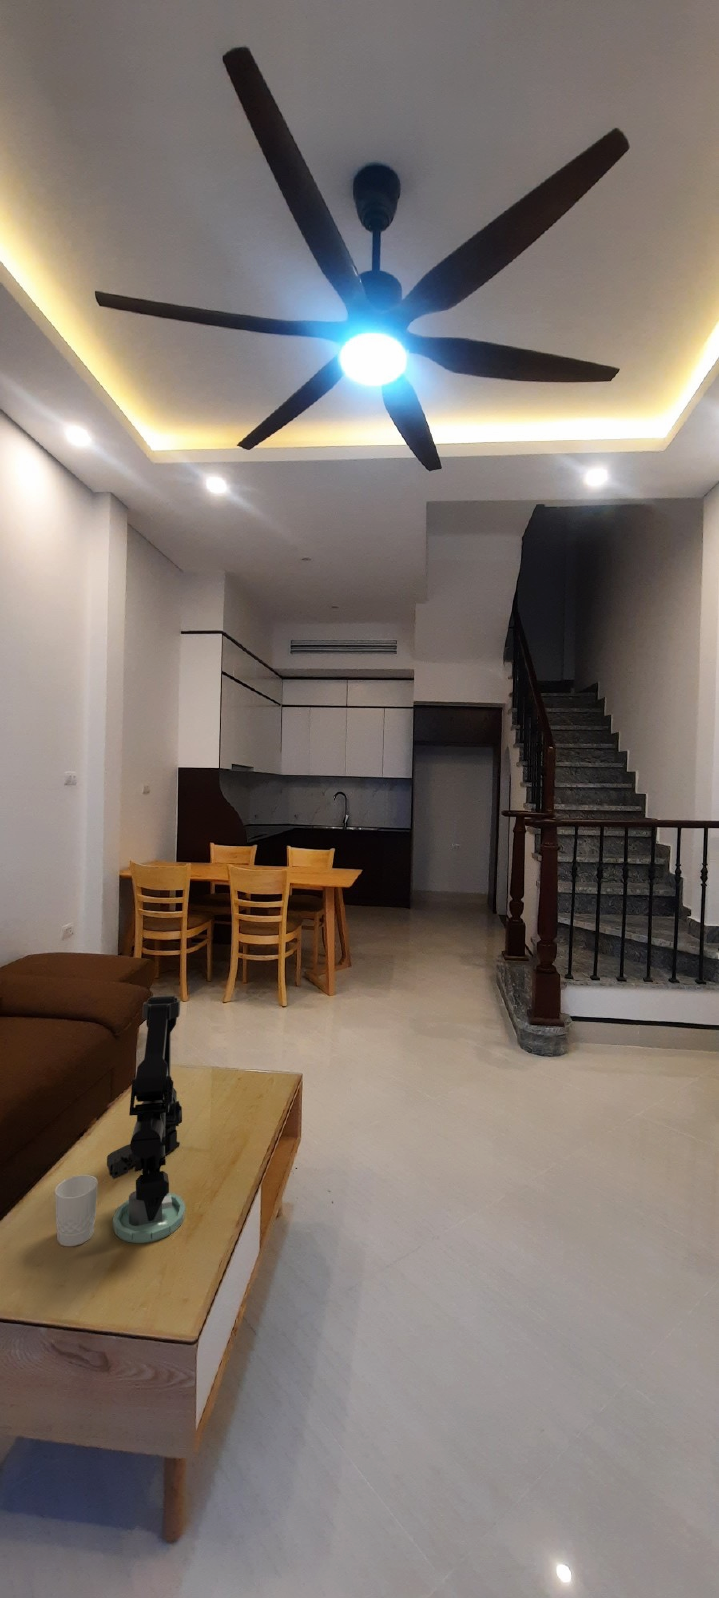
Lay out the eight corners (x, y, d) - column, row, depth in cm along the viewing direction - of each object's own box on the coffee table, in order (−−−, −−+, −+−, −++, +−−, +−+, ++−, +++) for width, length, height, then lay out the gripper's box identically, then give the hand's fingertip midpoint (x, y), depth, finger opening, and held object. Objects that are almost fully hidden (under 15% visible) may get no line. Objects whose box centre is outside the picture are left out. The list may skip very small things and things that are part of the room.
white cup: (105, 1228, 133) (106, 1179, 133) (77, 1253, 126) (77, 1201, 126) (74, 1219, 136) (75, 1171, 136) (45, 1243, 128) (45, 1193, 128)
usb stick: (128, 1227, 132) (129, 1203, 132) (128, 1215, 136) (128, 1191, 136) (171, 1218, 135) (172, 1194, 135) (170, 1207, 139) (170, 1184, 139)
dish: (98, 1230, 132) (98, 1222, 132) (147, 1193, 145) (147, 1185, 145) (152, 1251, 126) (152, 1242, 126) (198, 1210, 139) (198, 1202, 139)
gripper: (110, 1117, 142) (109, 1189, 142) (109, 1163, 124) (108, 1244, 124) (163, 1109, 146) (162, 1179, 146) (169, 1152, 128) (168, 1231, 128)
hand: (149, 1207), depth 136 cm, fingers open, 9 cm apart
